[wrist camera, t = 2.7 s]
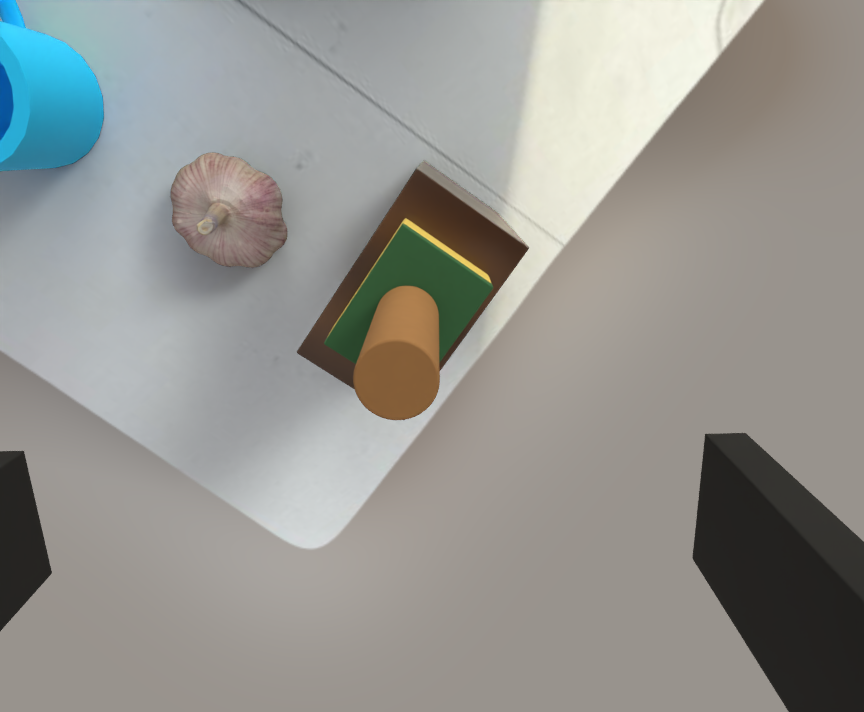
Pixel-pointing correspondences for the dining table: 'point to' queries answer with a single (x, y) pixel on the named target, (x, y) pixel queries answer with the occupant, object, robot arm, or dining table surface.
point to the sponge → (407, 321)
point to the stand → (448, 223)
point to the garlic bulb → (228, 210)
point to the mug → (43, 98)
